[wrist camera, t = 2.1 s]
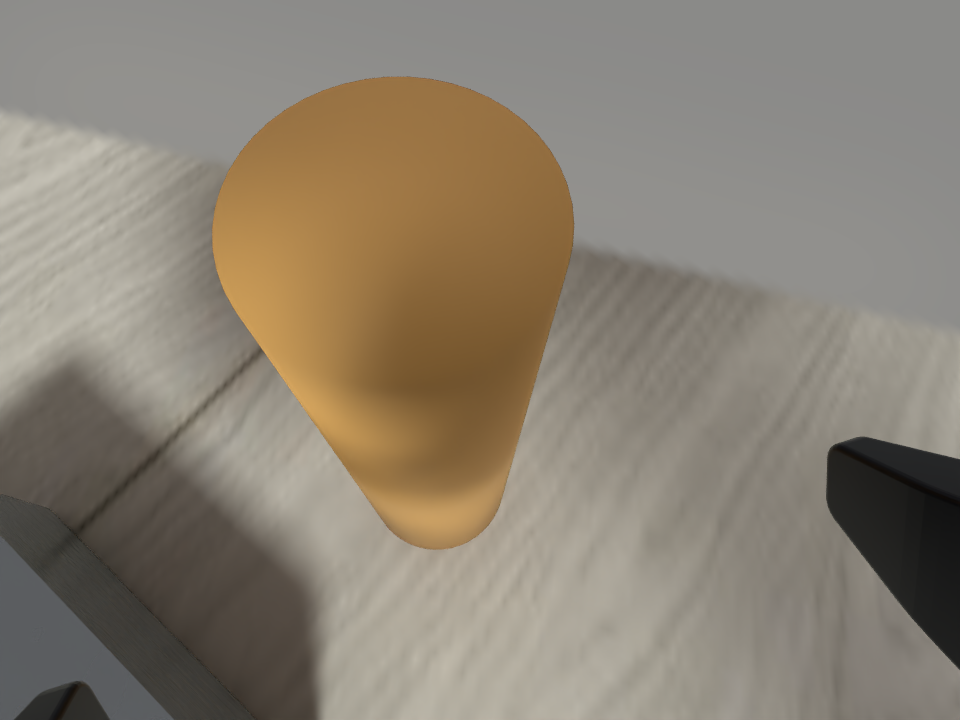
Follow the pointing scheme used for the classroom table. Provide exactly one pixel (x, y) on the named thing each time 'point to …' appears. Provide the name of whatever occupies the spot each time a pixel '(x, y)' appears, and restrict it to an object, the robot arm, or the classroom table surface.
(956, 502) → the robot arm
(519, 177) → the orange cylinder
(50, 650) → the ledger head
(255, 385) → the classroom table surface
